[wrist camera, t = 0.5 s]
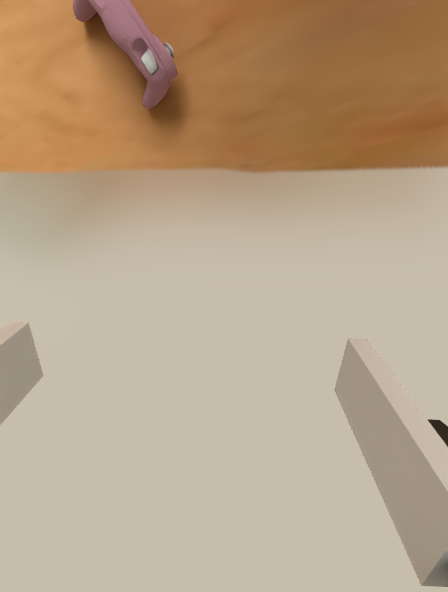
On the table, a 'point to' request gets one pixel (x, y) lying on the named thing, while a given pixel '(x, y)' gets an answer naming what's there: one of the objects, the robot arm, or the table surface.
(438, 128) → the table surface
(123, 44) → the video game controller
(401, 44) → the table surface
